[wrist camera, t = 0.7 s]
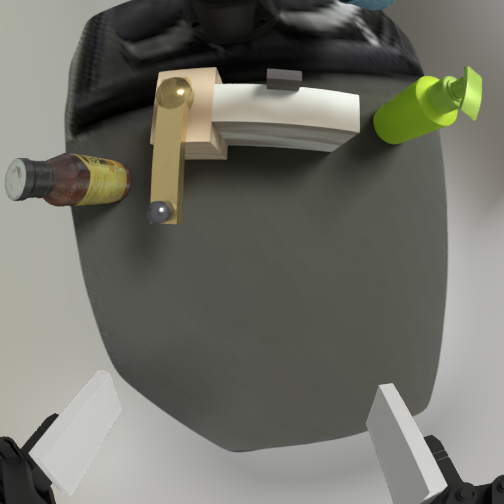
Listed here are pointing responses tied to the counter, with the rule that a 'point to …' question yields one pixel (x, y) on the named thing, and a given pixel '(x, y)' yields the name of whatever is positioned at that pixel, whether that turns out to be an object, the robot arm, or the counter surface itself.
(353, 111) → the door frame
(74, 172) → the sauce bottle
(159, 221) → the swing bar
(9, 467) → the robot arm
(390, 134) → the soap dispenser
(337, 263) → the counter surface
